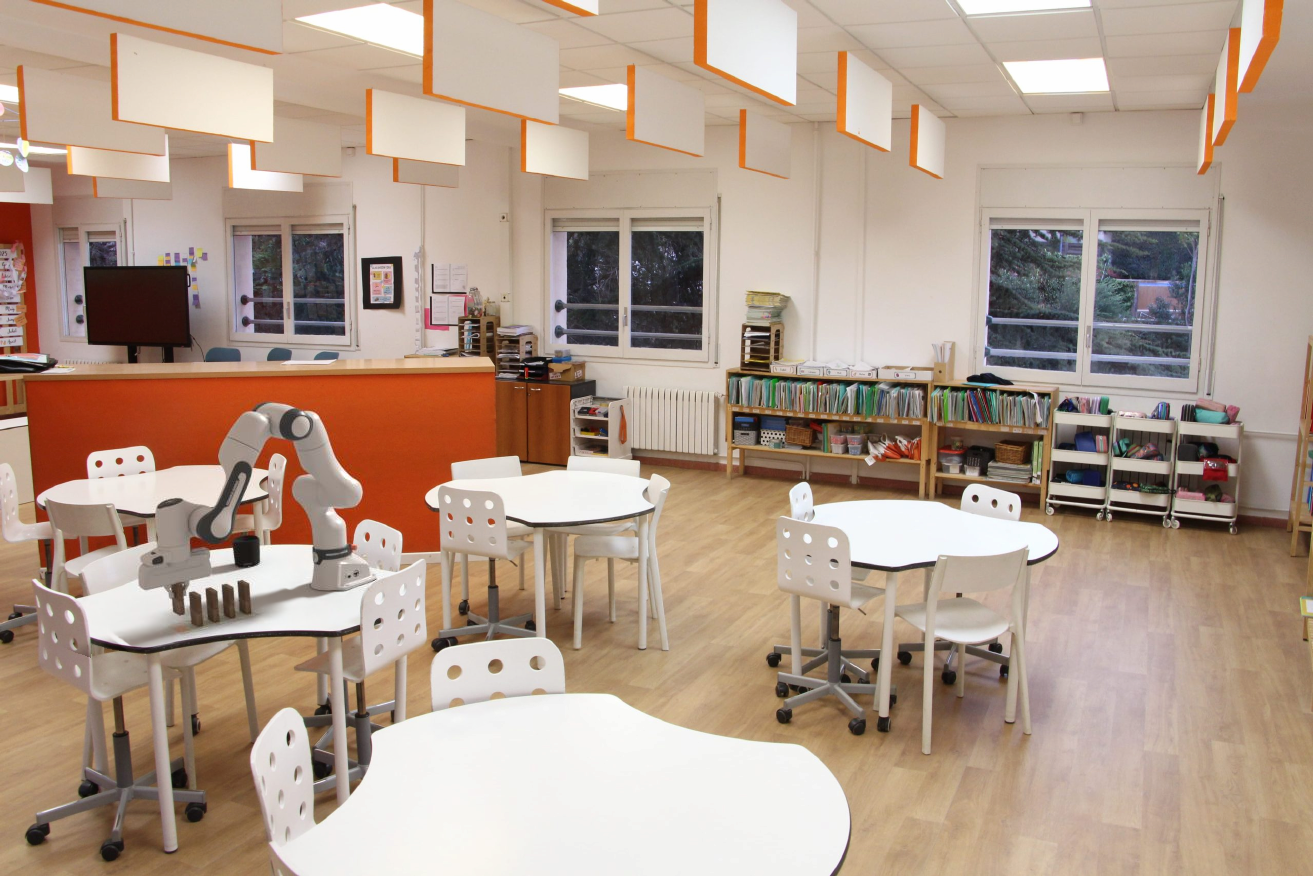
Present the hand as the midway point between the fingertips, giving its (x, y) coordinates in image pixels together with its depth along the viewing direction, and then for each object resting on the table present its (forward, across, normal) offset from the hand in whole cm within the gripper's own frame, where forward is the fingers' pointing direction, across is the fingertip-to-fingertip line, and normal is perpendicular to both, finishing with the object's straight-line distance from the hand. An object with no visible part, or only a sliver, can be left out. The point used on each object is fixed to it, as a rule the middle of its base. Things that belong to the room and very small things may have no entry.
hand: (177, 597), depth 292 cm
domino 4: (+10, -20, 0) cm, 22 cm away
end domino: (+5, 0, 0) cm, 5 cm away
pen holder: (+11, -45, -52) cm, 70 cm away
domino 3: (+10, -15, 0) cm, 18 cm away
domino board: (+11, -11, 0) cm, 15 cm away
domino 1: (+10, -5, 0) cm, 11 cm away
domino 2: (+10, -10, 0) cm, 14 cm away
